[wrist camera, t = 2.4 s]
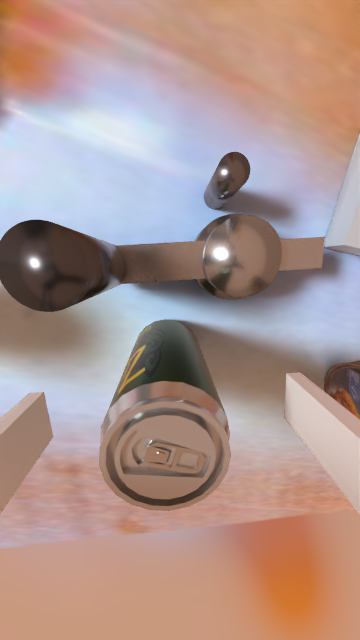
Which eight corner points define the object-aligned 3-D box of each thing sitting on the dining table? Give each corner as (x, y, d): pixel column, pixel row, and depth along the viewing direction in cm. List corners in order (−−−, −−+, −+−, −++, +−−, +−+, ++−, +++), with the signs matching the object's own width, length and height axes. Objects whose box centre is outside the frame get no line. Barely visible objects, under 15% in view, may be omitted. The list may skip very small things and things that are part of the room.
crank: (315, 216, 16) (475, 163, 8) (309, 288, 17) (443, 310, 9) (80, 229, 15) (-24, 187, 7) (91, 302, 17) (14, 341, 8)
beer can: (204, 326, 20) (256, 412, 8) (187, 381, 21) (212, 524, 9) (144, 310, 19) (108, 380, 8) (129, 367, 21) (80, 503, 9)
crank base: (205, 180, 17) (220, 147, 12) (280, 199, 18) (322, 174, 13) (160, 400, 21) (157, 440, 17) (222, 409, 22) (237, 451, 17)
